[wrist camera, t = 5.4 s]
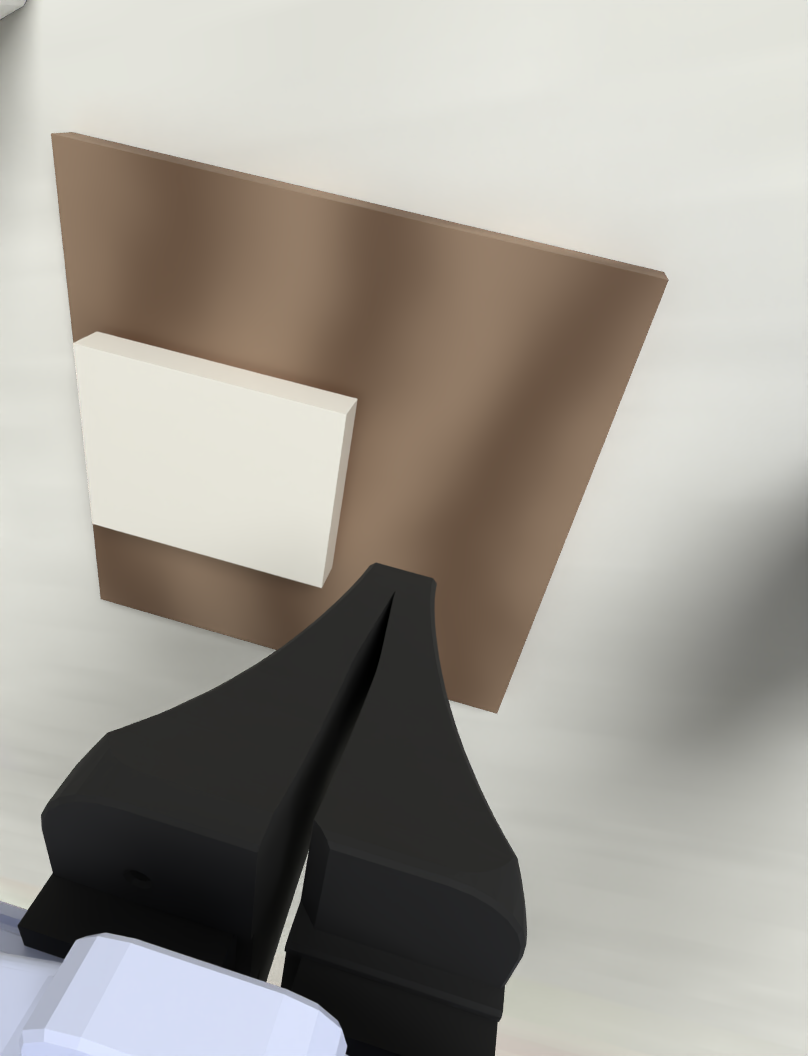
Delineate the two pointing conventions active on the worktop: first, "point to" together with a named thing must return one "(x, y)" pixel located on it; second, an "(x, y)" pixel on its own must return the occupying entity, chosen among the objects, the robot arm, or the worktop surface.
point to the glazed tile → (213, 456)
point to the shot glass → (10, 6)
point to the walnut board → (365, 383)
